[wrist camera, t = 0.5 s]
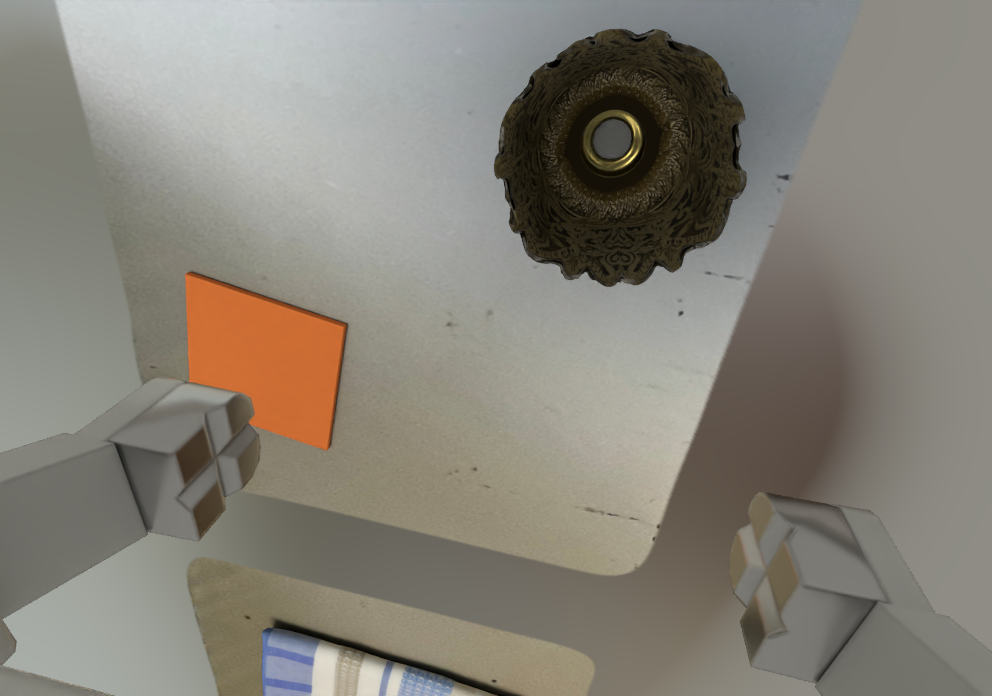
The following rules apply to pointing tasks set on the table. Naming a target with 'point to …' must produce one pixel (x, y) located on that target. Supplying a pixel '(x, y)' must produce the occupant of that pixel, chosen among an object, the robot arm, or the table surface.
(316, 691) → the dish towel
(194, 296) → the orange square board
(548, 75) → the brown ornate vase
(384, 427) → the table surface
